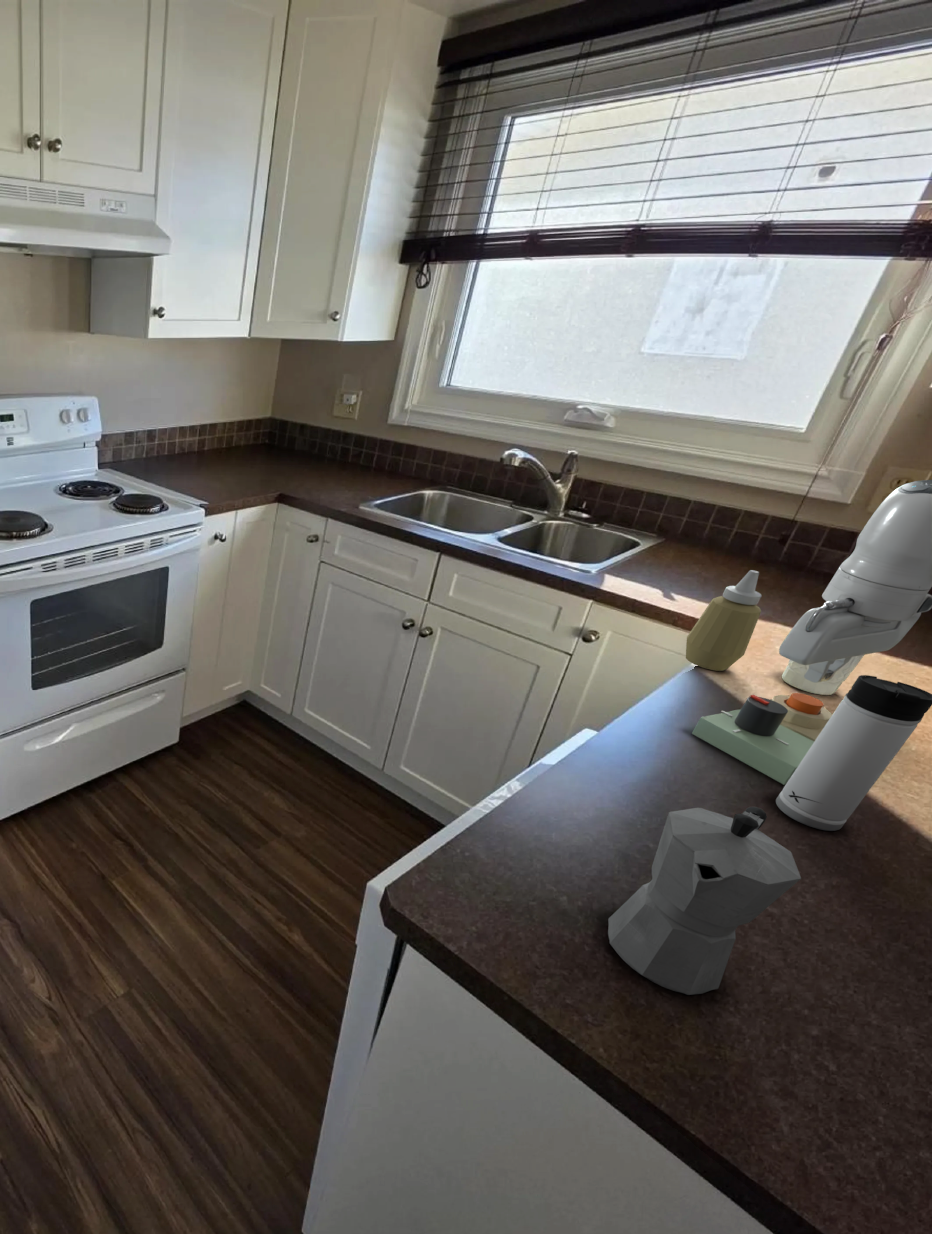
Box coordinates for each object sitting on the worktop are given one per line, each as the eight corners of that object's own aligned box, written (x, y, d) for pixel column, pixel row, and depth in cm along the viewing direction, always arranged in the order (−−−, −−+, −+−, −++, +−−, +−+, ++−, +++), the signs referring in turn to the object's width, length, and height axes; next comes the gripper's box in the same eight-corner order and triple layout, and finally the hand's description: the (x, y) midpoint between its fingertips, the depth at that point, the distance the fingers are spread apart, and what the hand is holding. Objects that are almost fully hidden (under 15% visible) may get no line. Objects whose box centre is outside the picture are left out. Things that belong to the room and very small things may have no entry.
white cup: (773, 682, 116) (804, 631, 112) (780, 668, 121) (809, 618, 116) (837, 703, 111) (871, 650, 106) (840, 687, 116) (874, 635, 111)
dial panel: (831, 772, 94) (843, 754, 93) (783, 784, 92) (796, 766, 90) (734, 722, 105) (744, 705, 103) (689, 732, 102) (699, 715, 100)
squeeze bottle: (672, 661, 122) (718, 569, 114) (683, 648, 127) (729, 558, 118) (728, 680, 117) (782, 584, 108) (738, 665, 121) (790, 573, 113)
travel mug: (780, 819, 85) (871, 686, 76) (770, 791, 90) (854, 662, 81) (847, 840, 82) (951, 705, 73) (833, 810, 87) (928, 679, 78)
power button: (823, 713, 101) (829, 704, 100) (807, 717, 100) (813, 707, 99) (795, 700, 104) (801, 691, 104) (779, 704, 103) (785, 694, 102)
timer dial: (781, 734, 97) (797, 709, 95) (759, 738, 96) (774, 713, 94) (748, 717, 101) (762, 692, 99) (726, 720, 100) (740, 696, 98)
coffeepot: (692, 1028, 60) (798, 886, 52) (578, 950, 67) (655, 814, 59) (747, 946, 68) (846, 812, 60) (640, 884, 75) (716, 755, 67)
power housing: (860, 748, 100) (875, 726, 98) (821, 758, 97) (836, 736, 95) (774, 708, 109) (787, 687, 107) (736, 716, 106) (749, 694, 105)
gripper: (851, 613, 88) (794, 700, 95) (945, 599, 94) (885, 682, 101) (795, 593, 94) (744, 677, 100) (887, 580, 99) (834, 660, 106)
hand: (815, 679), depth 100 cm, fingers closed
